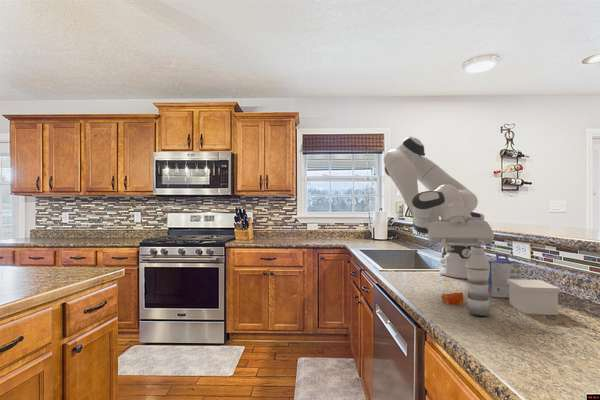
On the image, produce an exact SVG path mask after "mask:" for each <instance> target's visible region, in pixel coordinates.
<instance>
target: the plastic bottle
mask: <svg viewBox="0 0 600 400" xmlns="http://www.w3.org/2000/svg"><path fill="white" fill-rule="evenodd" d="M470 253H471V256H470V257H469V258H468V260H467V261H466V270H467V276H468V279H467V282H468V283H467V297H466V303H465V305H466V310H467V311H468V313H470V314H471V315H475V316H481V317H482V316H484V317H485V316H489V315H490V313H491V311H492V310H491V309H492V307H491V306H492V305H491V300H490V295H489V292H488V279H489V272H490V264H489V262H488V261H489V260H488V259H487V258H486V256H485V254H486V252H485V247H484V246H482V247H478V245H477V246H472V247H471V251H470Z"/></svg>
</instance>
